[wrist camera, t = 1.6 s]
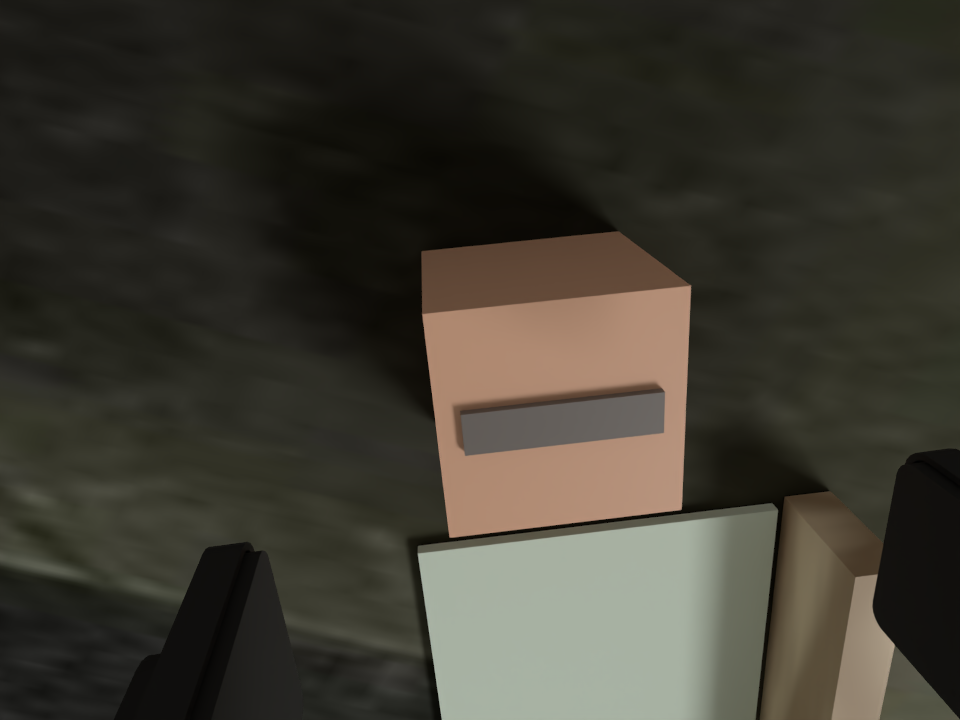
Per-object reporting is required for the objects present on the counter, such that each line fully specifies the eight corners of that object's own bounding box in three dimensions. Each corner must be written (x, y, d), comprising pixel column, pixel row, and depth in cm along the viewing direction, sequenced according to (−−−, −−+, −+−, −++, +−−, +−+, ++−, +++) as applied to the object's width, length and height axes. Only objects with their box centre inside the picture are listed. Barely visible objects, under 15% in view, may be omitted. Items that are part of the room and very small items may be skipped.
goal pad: (772, 503, 23) (778, 510, 22) (746, 749, 27) (751, 759, 27) (417, 545, 22) (417, 553, 22) (453, 790, 27) (453, 800, 26)
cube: (617, 230, 19) (694, 288, 14) (618, 405, 21) (684, 514, 16) (421, 250, 19) (422, 317, 13) (442, 426, 21) (449, 543, 15)
